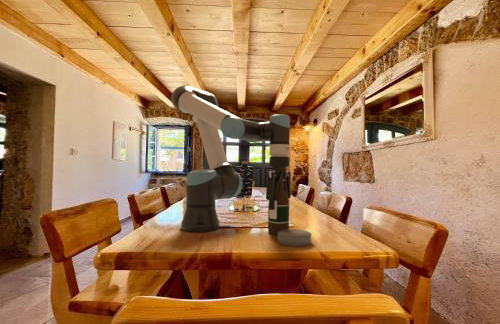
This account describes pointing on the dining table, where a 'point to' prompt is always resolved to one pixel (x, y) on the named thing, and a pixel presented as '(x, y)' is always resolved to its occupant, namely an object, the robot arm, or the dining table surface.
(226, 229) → the dining table surface
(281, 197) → the beer bottle
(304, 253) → the dining table surface
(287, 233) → the slate pedestal
